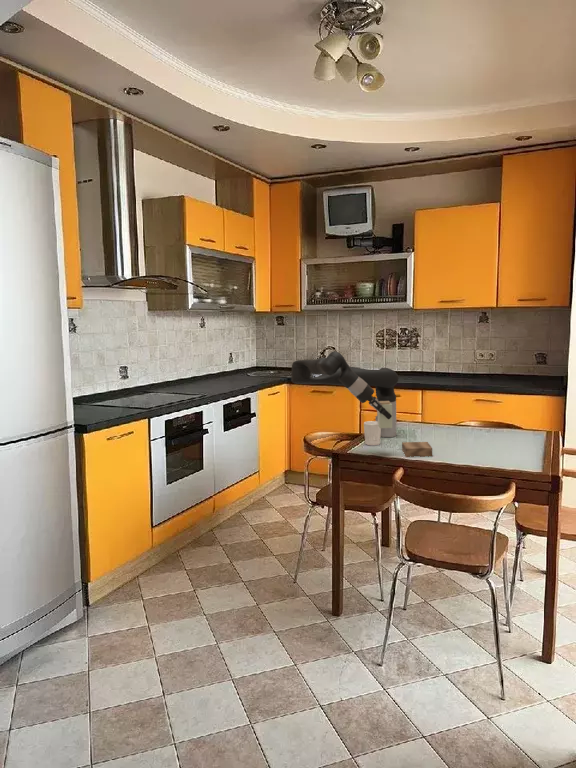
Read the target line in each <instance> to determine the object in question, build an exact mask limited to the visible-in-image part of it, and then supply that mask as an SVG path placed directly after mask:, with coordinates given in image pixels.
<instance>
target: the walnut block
mask: <svg viewBox="0 0 576 768" xmlns="http://www.w3.org/2000/svg"><path fill="white" fill-rule="evenodd" d="M401 450H402V453H403V452H404V453H403V454H405V455H404V456H405V458H415V457H414V456H420V457H419V458H421V457H422V458H423V457H425V456H428V458H429V456H432V457H433V447H432V446H431V444H430V443H429V442H428V441H408V442H407V441H403V442H402V443H401ZM410 456H411V457H410Z"/></svg>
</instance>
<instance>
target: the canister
mask: <svg viewBox="0 0 576 768" xmlns="http://www.w3.org/2000/svg"><path fill="white" fill-rule="evenodd" d="M379 402H380V403H381V404H382V406H383V407H384V408H385V409H386V411H388V412H389V413H390V414H391V415H392V404H391V403H390V402H389V401H379ZM382 409H383V408H382V407H381V408H380V409H379V410H380V411H381V410H382ZM378 427H379V428H392V417H391V418H390V419H387V418H386V417H385V416H384V415H383V414H381V413H380V412H379V411H378Z"/></svg>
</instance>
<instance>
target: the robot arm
mask: <svg viewBox="0 0 576 768" xmlns="http://www.w3.org/2000/svg"><path fill="white" fill-rule="evenodd" d="M312 374H314V375H318V376H313V377H312ZM290 377H291V382H292V383H293V384H296V385H333V386H344V387H345V388H346V389H347V390H348V391H349V392H350V393H351V394H352V395H353V396H354V397H355V398H356V399H357V401H359V402H360V403H361V404H364V403H366V402H368V405H369V406H370V407H372V408H373V409H375V411H376V416H375V421H378V411H379V412H380V413H381V414H383V415H384V416H385V417H386V418H387V419H390V418H391V417H392V428H381V435H380V438H382V437H383V438H392V437H393V438H394V437H396V436H397V395H396V392H395V386H396V385H397V383H399V375H398V373H397V371H395V370H393V369H392V368H388V367H381V368H379V369H375V370H374V369H366V368H362V367H357V366H356V367H355V366H350V365H349V363H348V362H347V360H346V359H345V357H344V356H343V354H341V352H339V351H336V350H334V351H331V352H330V353H329V354H328V355H327V356H326V357H319V358H316V359H301V360H300V359H298V360H294V361H293V362H292V364H291V376H290ZM373 386H375V389H374V388H372V387H373ZM374 394H375V396H373V395H374ZM379 401H389V402H390V403H391V404H392V415H391V414H390V413H389V412H388V411H386V409H385V408H384V407H383V406H382V404H381V403H380V402H379ZM381 407H382V408H383V409H382V410H381V411H380V410H379V409H380V408H381Z"/></svg>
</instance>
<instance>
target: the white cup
mask: <svg viewBox="0 0 576 768" xmlns="http://www.w3.org/2000/svg"><path fill="white" fill-rule="evenodd" d="M363 431H364V432H363V433H364V444H365V445H366V444H367V446H378V445H380V444H381V437H380V435H381V428H379V427H378V421H376V420H368V421H364V422H363Z"/></svg>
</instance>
